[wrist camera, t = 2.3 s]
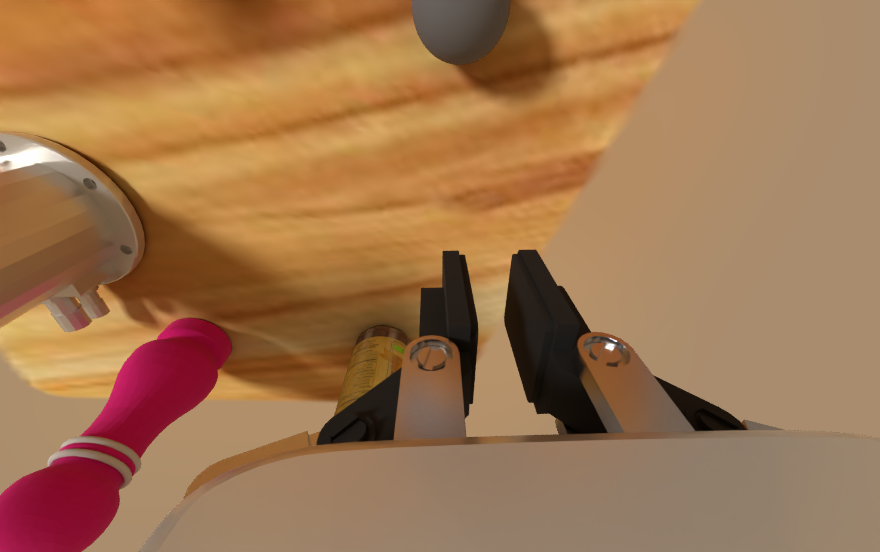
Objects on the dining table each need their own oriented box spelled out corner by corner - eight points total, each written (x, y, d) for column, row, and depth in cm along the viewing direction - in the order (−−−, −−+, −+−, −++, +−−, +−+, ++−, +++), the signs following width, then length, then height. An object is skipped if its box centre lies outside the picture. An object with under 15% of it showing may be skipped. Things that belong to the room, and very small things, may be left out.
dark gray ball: (496, 65, 23) (514, 64, 18) (415, 65, 23) (412, 64, 18) (504, -45, 20) (528, -79, 15) (411, -45, 20) (406, -80, 15)
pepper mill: (249, 361, 37) (93, 615, 20) (186, 369, 37) (-21, 625, 20) (216, 308, 33) (-12, 567, 16) (146, 318, 33) (-151, 581, 16)
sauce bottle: (416, 363, 38) (407, 606, 21) (361, 367, 38) (305, 612, 21) (410, 318, 34) (392, 564, 17) (349, 322, 34) (271, 572, 17)
